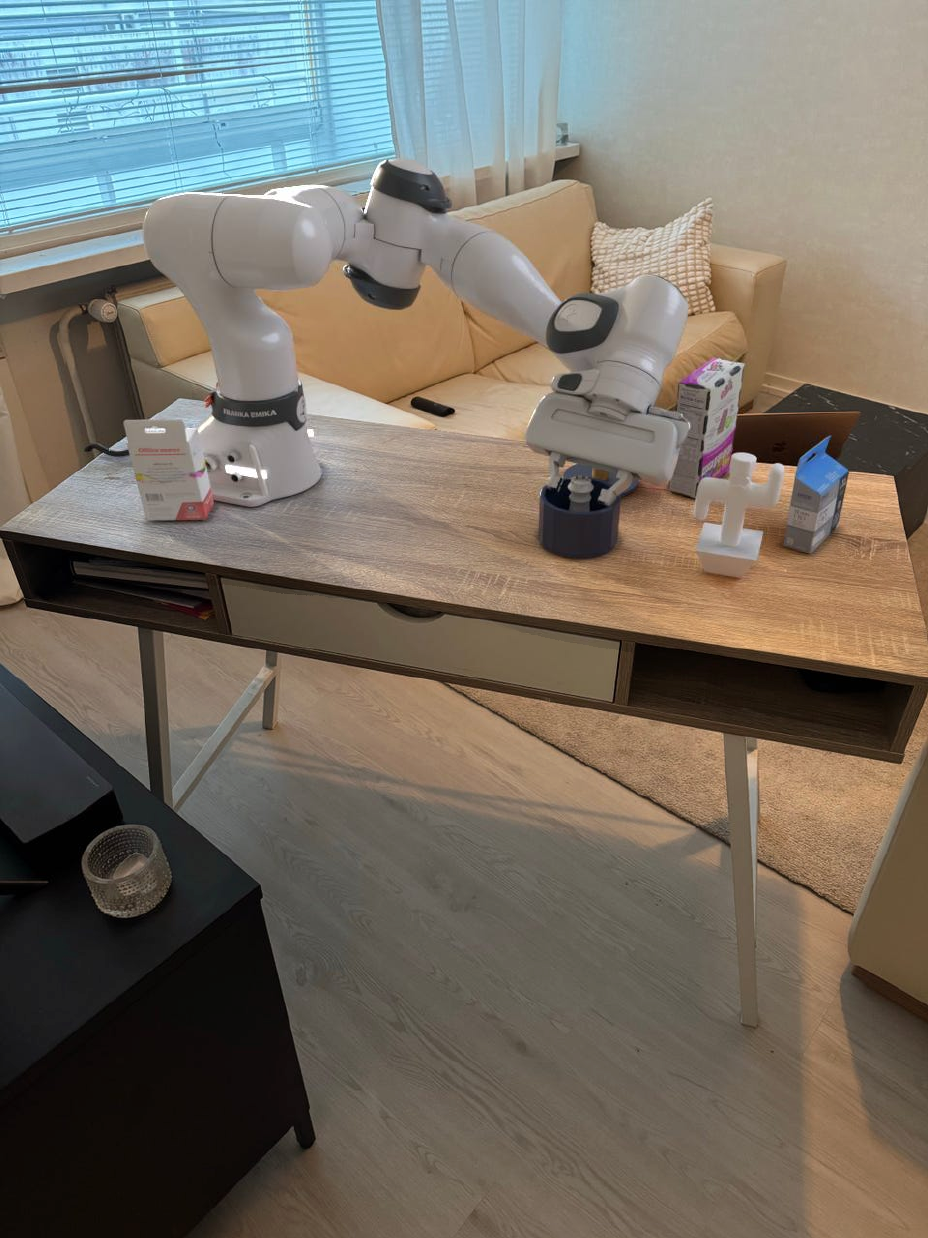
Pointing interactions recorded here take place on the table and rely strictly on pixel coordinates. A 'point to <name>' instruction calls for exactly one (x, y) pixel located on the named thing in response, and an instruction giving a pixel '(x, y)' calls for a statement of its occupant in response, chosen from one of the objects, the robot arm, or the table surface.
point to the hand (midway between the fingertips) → (578, 497)
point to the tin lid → (598, 476)
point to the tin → (578, 523)
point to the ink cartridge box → (169, 469)
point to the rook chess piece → (580, 494)
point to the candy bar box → (707, 423)
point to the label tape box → (815, 499)
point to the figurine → (734, 516)
